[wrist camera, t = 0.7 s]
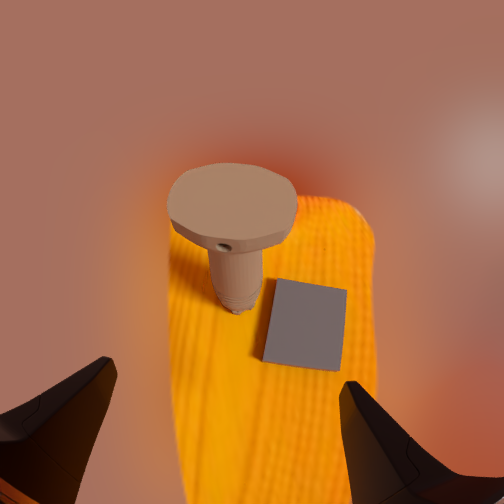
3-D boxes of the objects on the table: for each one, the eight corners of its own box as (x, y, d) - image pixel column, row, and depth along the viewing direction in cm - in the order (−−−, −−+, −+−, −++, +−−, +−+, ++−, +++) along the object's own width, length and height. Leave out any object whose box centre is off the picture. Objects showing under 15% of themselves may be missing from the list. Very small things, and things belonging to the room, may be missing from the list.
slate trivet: (335, 371, 23) (339, 370, 22) (261, 361, 23) (262, 360, 22) (343, 294, 26) (346, 289, 25) (276, 282, 27) (277, 278, 26)
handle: (210, 273, 27) (182, 160, 14) (274, 281, 27) (298, 170, 14) (201, 319, 25) (154, 231, 12) (269, 327, 25) (295, 246, 12)
